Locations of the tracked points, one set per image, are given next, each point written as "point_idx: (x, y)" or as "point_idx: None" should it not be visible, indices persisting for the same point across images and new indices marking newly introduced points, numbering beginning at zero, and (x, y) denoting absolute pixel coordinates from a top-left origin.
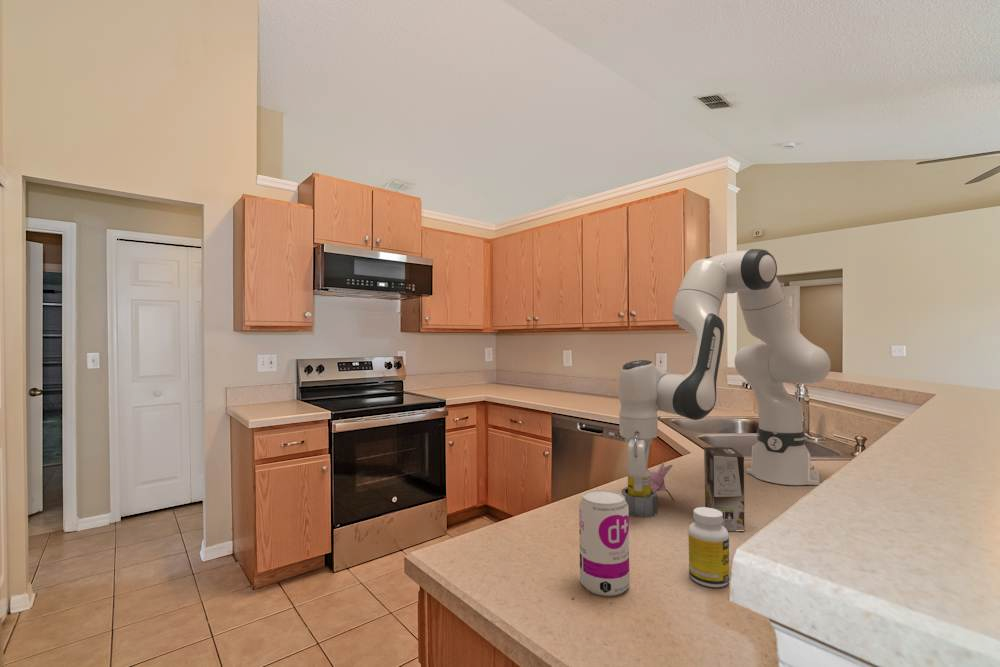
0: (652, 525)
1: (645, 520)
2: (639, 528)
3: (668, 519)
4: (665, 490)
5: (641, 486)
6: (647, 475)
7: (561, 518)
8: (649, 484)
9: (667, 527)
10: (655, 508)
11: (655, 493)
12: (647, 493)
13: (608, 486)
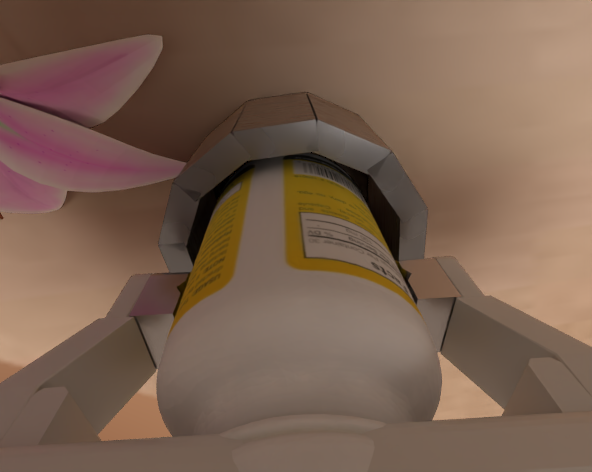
0: (501, 104)
1: (429, 149)
2: (545, 166)
3: (386, 3)
4: (157, 39)
5: (469, 281)
6: (401, 308)
7: (453, 407)
8: (344, 222)
9: (532, 3)
10: (331, 108)
11: (284, 135)
12: (358, 199)
13: (13, 359)
